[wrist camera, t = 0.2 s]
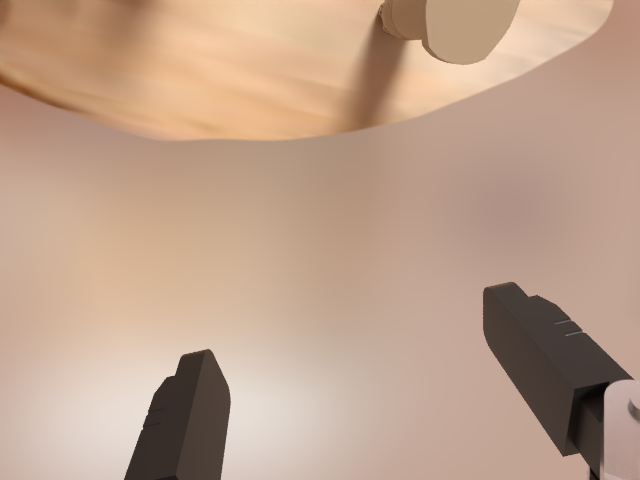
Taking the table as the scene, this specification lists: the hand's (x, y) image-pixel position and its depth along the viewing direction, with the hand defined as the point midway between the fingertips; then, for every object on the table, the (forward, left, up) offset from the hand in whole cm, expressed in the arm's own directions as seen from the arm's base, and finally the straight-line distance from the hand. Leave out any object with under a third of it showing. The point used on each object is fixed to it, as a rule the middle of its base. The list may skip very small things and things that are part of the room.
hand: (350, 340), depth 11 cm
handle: (-8, +10, -29) cm, 31 cm away
